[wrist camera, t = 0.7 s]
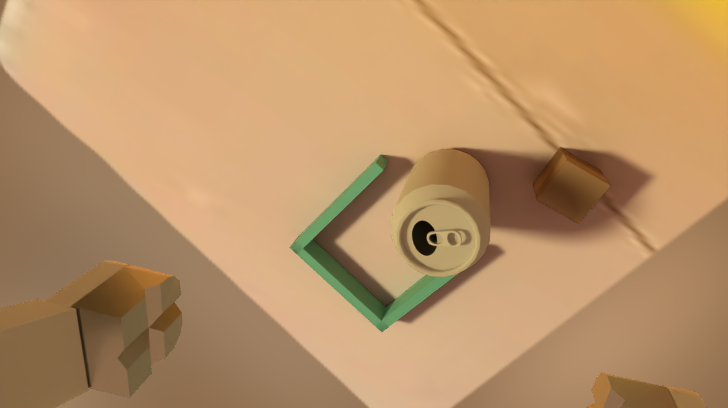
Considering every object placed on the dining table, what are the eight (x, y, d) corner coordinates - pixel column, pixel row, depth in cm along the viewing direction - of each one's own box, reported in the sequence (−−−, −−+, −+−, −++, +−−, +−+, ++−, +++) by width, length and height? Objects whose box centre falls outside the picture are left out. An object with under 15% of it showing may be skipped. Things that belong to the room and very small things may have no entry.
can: (402, 152, 46) (377, 198, 35) (484, 140, 44) (484, 186, 33) (415, 224, 49) (395, 289, 38) (493, 217, 47) (496, 283, 36)
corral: (380, 154, 47) (375, 162, 44) (476, 247, 48) (476, 259, 46) (298, 236, 52) (289, 247, 50) (386, 318, 54) (381, 332, 51)
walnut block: (560, 147, 43) (566, 160, 39) (599, 170, 43) (610, 185, 39) (532, 183, 45) (536, 200, 41) (571, 205, 45) (578, 224, 41)
